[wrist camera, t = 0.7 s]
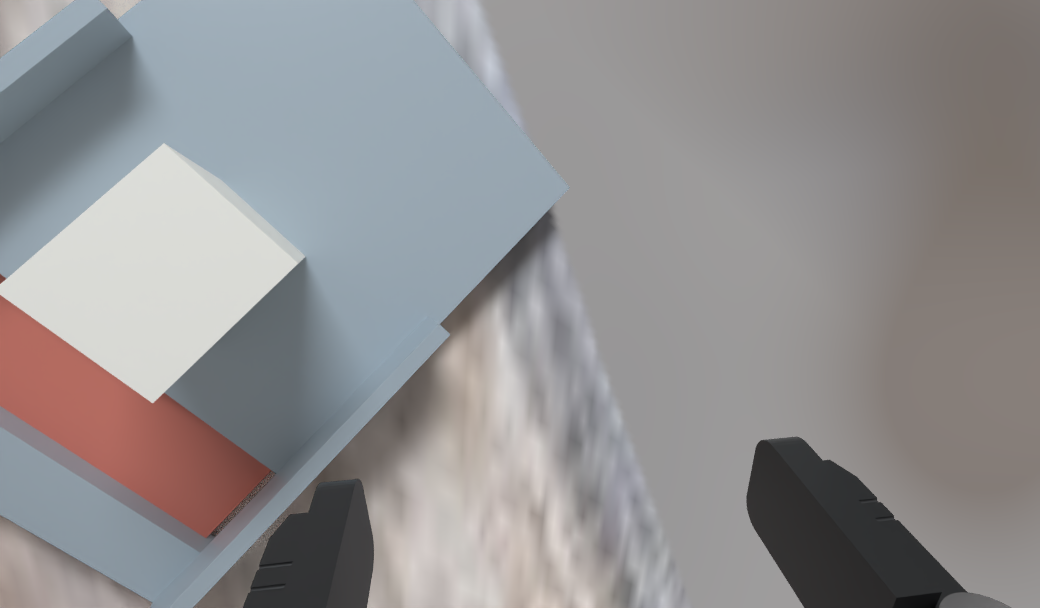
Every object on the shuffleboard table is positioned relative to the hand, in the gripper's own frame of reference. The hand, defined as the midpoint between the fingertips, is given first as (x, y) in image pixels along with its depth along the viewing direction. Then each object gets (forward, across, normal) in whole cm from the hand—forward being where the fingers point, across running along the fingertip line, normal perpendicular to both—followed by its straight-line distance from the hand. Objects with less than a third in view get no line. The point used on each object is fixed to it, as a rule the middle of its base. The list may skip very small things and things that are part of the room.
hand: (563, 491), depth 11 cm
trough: (+19, +13, 0) cm, 23 cm away
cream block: (+17, +13, 0) cm, 22 cm away
